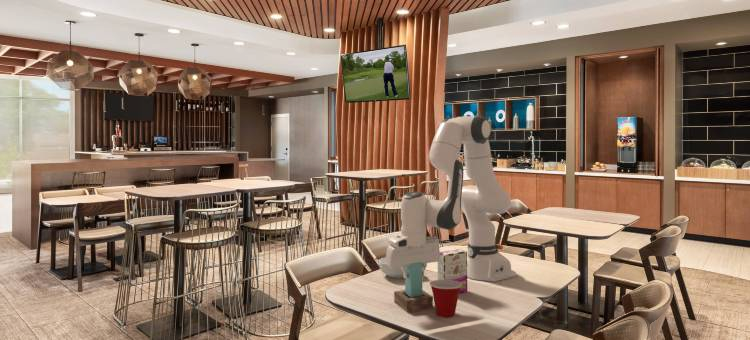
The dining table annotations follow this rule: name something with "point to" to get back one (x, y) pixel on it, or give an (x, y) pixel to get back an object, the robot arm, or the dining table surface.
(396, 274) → the cereal bowl
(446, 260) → the candy bar box
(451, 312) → the plastic cup
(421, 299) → the pocket block
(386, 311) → the dining table surface
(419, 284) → the teal peg
